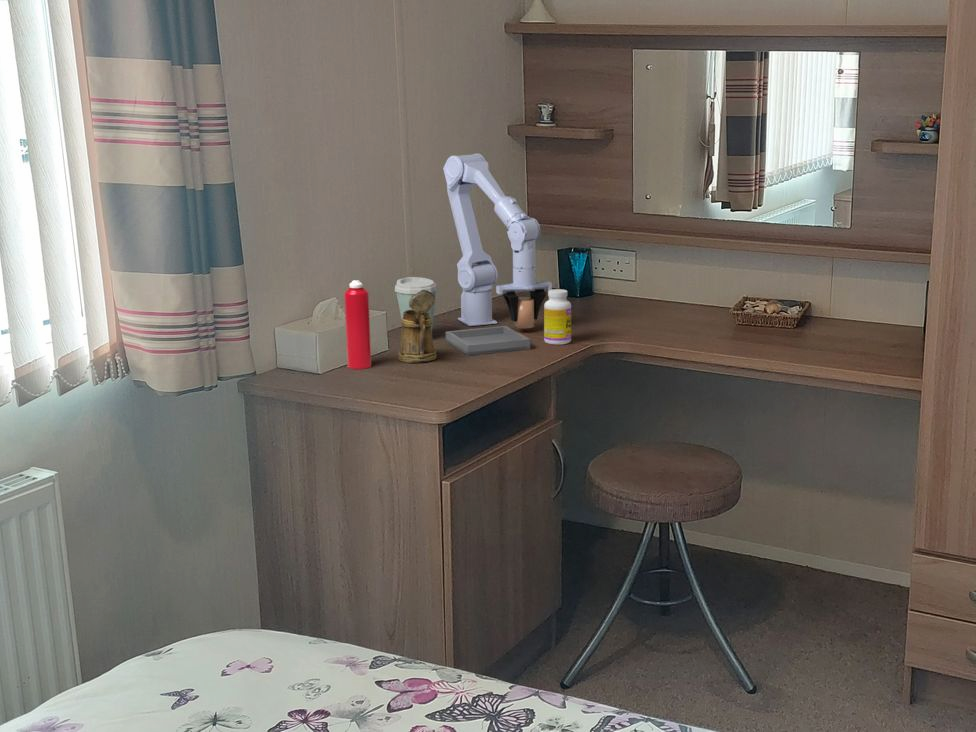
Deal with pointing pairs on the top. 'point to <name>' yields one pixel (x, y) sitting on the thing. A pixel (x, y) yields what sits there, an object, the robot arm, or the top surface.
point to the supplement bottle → (557, 318)
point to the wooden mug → (417, 330)
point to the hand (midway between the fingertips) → (524, 319)
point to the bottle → (357, 326)
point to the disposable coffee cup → (413, 292)
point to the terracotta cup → (525, 313)
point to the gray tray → (487, 340)
